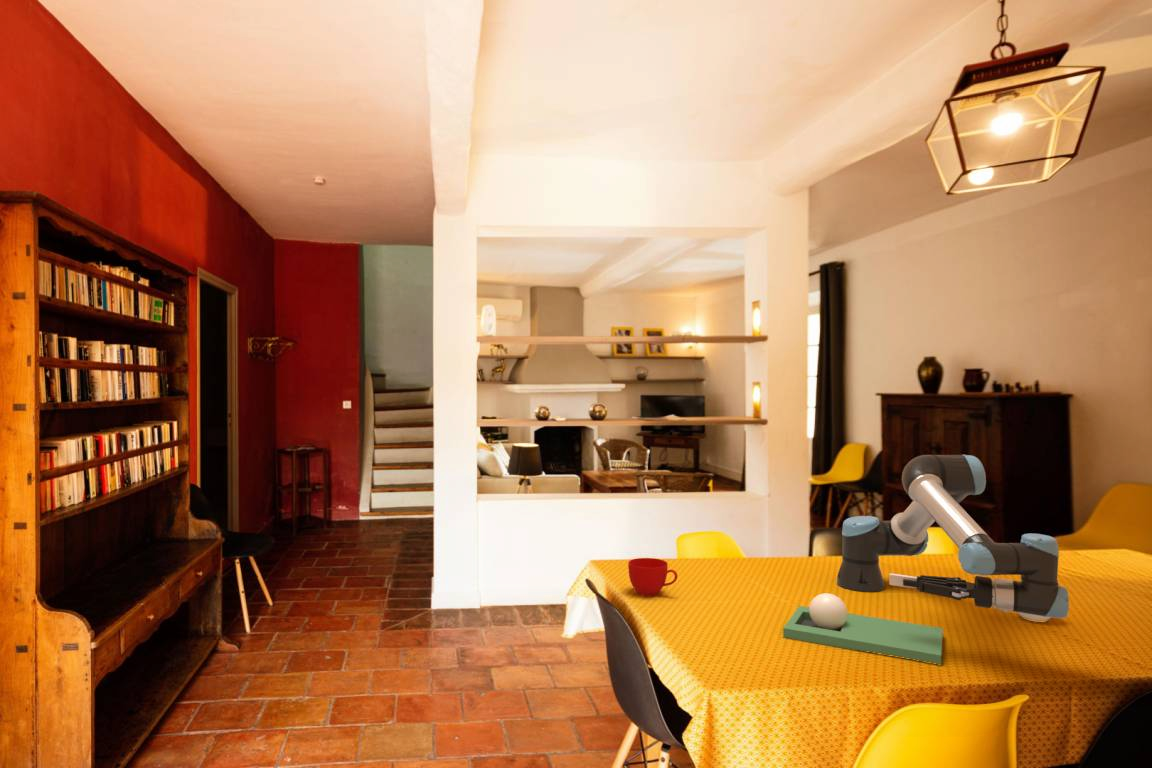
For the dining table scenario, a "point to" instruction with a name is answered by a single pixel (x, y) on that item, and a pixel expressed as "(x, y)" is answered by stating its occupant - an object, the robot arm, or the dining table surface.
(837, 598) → the ball
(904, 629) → the putting board
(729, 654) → the dining table surface
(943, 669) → the dining table surface
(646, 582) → the ceramic cup
